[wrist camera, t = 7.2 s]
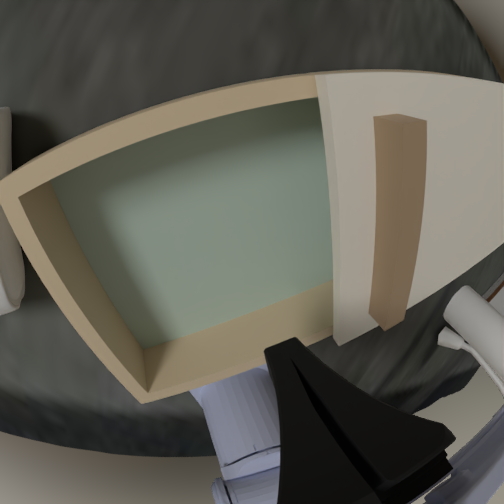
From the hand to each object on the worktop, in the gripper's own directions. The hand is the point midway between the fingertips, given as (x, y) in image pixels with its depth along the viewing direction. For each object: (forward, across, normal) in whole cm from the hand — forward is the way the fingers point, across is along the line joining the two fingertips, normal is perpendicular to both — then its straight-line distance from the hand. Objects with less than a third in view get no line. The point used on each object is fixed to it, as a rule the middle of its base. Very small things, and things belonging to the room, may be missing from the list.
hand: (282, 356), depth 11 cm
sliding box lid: (+4, -18, -2) cm, 18 cm away
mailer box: (+9, -4, -2) cm, 10 cm away
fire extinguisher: (+10, -31, +23) cm, 40 cm away
